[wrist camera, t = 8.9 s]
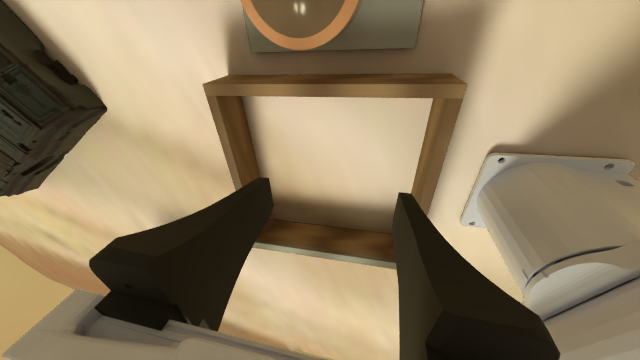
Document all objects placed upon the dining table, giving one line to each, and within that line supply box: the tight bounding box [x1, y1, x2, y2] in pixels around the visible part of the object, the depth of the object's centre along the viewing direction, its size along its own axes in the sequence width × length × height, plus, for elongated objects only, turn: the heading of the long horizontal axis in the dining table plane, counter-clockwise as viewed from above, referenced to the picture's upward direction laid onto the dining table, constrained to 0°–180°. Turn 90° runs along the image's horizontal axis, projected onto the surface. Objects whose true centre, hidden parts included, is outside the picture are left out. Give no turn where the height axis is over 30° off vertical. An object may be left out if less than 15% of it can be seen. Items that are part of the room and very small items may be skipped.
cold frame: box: [203, 74, 467, 270], centre depth 21 cm, size 18×18×4 cm
